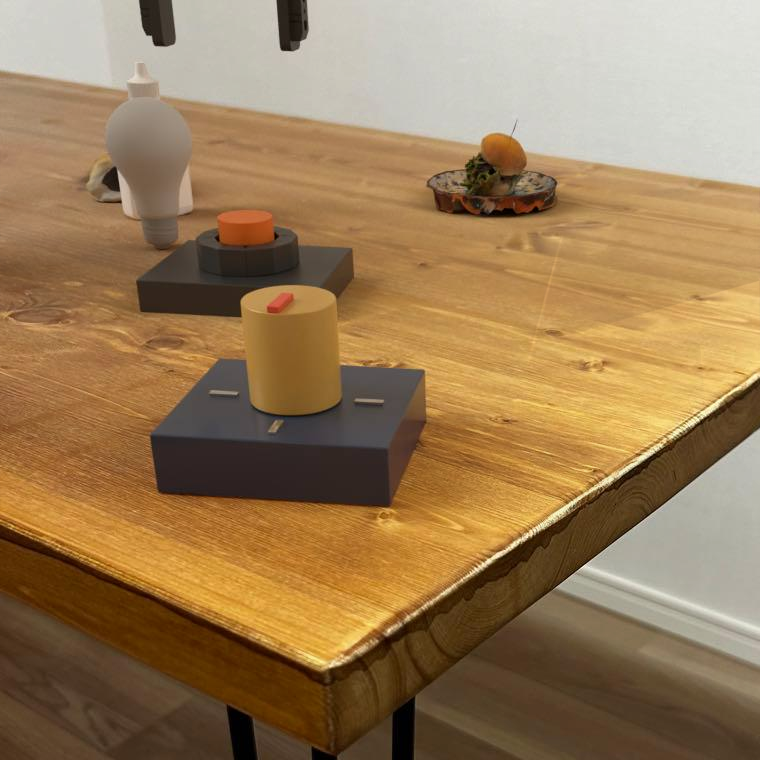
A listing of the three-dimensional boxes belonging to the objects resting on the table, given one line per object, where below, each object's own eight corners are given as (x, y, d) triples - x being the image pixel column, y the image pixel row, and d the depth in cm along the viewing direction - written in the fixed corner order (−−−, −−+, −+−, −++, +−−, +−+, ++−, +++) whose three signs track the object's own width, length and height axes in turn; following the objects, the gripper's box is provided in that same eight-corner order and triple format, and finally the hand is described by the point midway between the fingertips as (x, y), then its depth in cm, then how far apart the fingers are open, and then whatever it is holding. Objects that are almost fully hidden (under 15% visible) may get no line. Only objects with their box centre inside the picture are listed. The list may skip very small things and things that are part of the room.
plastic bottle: (193, 219, 99) (175, 66, 93) (122, 221, 98) (100, 66, 92) (194, 207, 103) (177, 58, 97) (126, 209, 102) (105, 58, 96)
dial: (268, 378, 60) (259, 275, 58) (352, 385, 60) (347, 282, 57) (236, 411, 56) (225, 303, 54) (326, 419, 56) (319, 310, 53)
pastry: (113, 178, 111) (108, 136, 109) (187, 180, 112) (182, 138, 110) (85, 202, 103) (78, 157, 101) (164, 204, 104) (159, 159, 102)
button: (212, 248, 79) (209, 221, 78) (229, 234, 82) (227, 208, 81) (266, 250, 79) (263, 224, 78) (281, 236, 82) (279, 211, 81)
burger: (514, 181, 115) (515, 99, 111) (584, 208, 106) (587, 120, 102) (402, 194, 109) (399, 108, 105) (466, 223, 100) (465, 131, 97)
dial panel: (157, 493, 56) (148, 430, 54) (224, 410, 64) (218, 354, 63) (390, 507, 55) (387, 445, 53) (426, 422, 64) (425, 366, 62)
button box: (140, 312, 78) (131, 252, 76) (191, 269, 87) (185, 214, 85) (320, 322, 77) (316, 261, 75) (354, 277, 86) (351, 222, 84)
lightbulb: (205, 236, 95) (188, 90, 89) (203, 258, 89) (185, 104, 84) (124, 239, 93) (103, 91, 88) (117, 261, 88) (94, 105, 83)
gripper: (340, -260, 69) (354, 45, 77) (100, -265, 70) (138, 36, 78) (306, -275, 62) (325, 60, 70) (42, -281, 63) (90, 50, 71)
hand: (227, 47), depth 74 cm, fingers open, 7 cm apart
